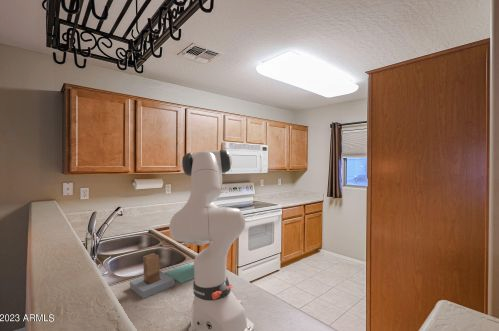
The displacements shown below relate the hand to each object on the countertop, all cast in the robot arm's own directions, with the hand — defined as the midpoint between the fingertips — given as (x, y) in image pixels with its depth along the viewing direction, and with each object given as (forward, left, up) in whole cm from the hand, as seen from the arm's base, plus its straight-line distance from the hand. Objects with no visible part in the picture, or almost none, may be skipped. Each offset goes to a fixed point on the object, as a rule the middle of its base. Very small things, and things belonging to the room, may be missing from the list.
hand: (179, 240), depth 119 cm
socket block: (0, +15, -17) cm, 23 cm away
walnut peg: (0, +15, -17) cm, 23 cm away
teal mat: (0, -2, -17) cm, 17 cm away
